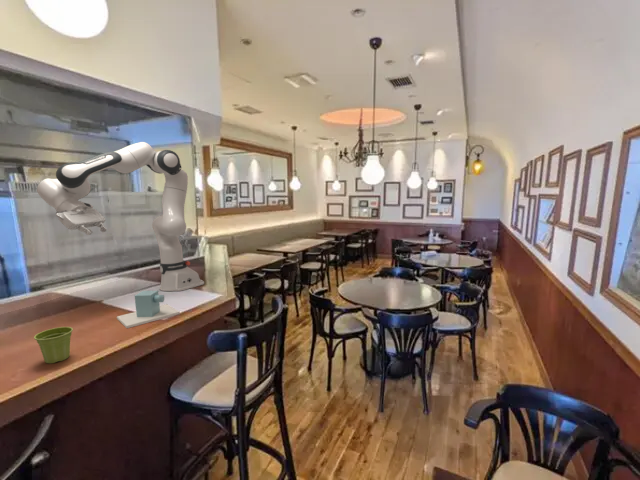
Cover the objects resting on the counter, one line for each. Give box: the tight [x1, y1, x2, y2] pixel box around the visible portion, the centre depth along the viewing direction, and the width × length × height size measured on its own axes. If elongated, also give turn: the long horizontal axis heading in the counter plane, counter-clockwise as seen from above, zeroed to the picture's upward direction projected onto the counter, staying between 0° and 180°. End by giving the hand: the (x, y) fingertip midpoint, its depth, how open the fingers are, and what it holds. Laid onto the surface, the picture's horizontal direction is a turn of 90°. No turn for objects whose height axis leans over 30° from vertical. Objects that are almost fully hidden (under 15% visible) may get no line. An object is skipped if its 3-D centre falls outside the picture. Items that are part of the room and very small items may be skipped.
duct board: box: [116, 303, 181, 329], centre depth 138 cm, size 20×14×7 cm
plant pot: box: [33, 326, 74, 364], centre depth 103 cm, size 9×9×9 cm
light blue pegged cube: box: [134, 290, 165, 317], centre depth 137 cm, size 6×10×9 cm
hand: (98, 232), depth 144 cm, fingers open, 8 cm apart
